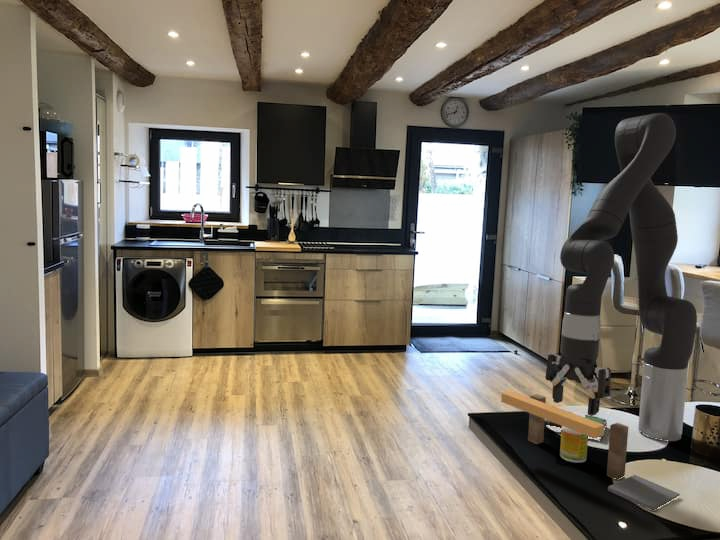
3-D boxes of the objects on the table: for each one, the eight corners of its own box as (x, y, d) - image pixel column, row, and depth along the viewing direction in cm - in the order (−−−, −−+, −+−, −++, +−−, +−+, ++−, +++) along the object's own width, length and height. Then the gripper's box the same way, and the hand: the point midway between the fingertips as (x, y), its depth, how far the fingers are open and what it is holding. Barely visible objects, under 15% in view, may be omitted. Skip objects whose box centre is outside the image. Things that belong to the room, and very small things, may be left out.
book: (634, 478, 116) (634, 474, 116) (679, 497, 109) (679, 493, 109) (607, 490, 111) (608, 486, 111) (653, 511, 104) (653, 507, 104)
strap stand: (534, 438, 135) (537, 394, 134) (624, 477, 117) (628, 426, 115) (528, 440, 134) (530, 395, 132) (617, 480, 115) (621, 429, 114)
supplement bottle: (583, 465, 122) (586, 421, 120) (557, 459, 124) (559, 416, 123) (588, 456, 126) (591, 413, 125) (563, 450, 129) (565, 408, 128)
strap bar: (510, 399, 129) (510, 390, 129) (603, 435, 110) (604, 425, 110) (501, 401, 127) (501, 392, 127) (594, 438, 109) (595, 428, 108)
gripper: (541, 329, 126) (536, 401, 128) (600, 343, 114) (593, 422, 116) (563, 325, 130) (558, 395, 132) (622, 339, 118) (615, 416, 120)
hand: (574, 408), depth 124 cm, fingers open, 8 cm apart
